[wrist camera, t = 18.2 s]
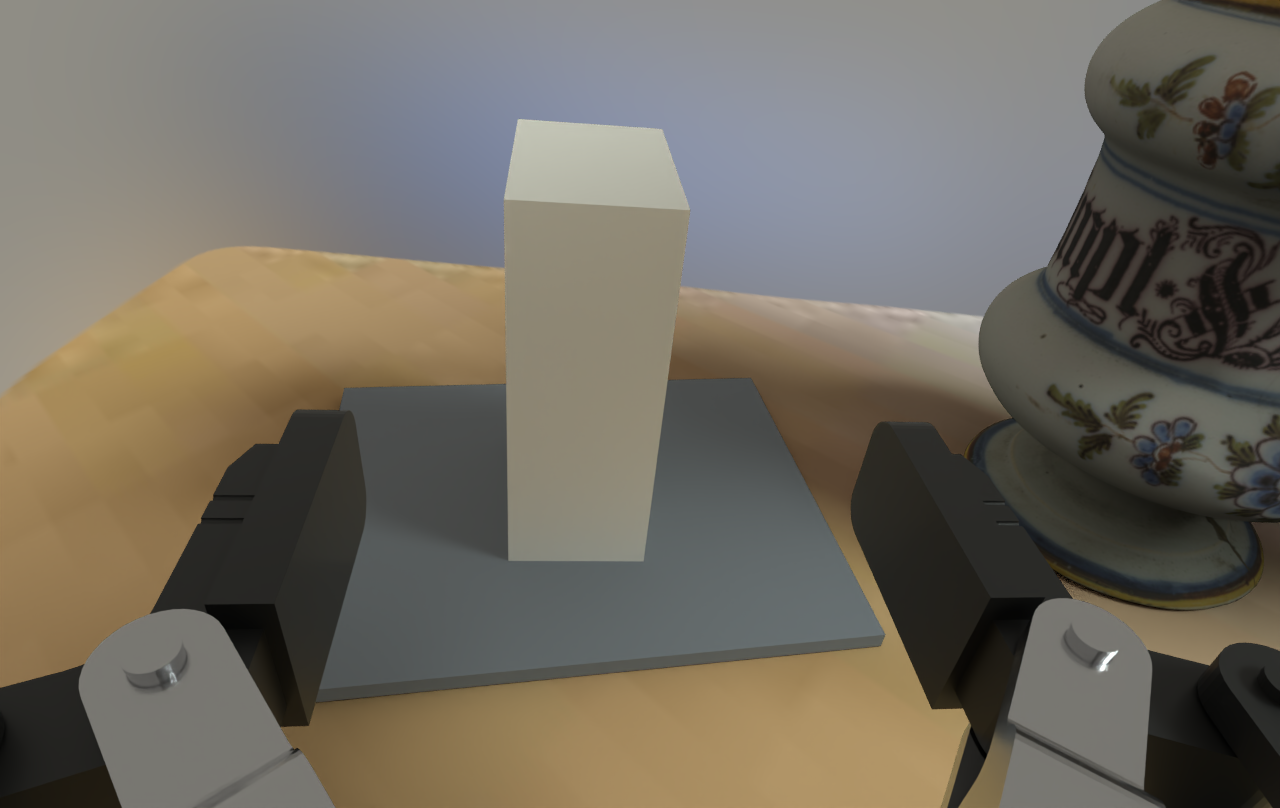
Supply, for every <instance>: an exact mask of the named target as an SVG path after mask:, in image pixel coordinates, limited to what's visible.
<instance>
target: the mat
mask: <svg viewBox="0 0 1280 808" xmlns="http://www.w3.org/2000/svg"><path fill="white" fill-rule="evenodd" d="M340 410H350V411H351V412H352V413H353V415H354V418H355V423H356V429H357V435H358V442H359V448H360V455H361V461H362V467H363V474H364V480H365V487H366V518H365V525H364V530H363V534H362V538H361V541H360V545H359V548H358V552H357V555H356V559H355V563H354V566H353V570H352V573H351V577H350V580H349V584H348V587H347V591H346V595H345V598H344V602H343V605H342V609H341V612H340V616H339V620H338V623H337V627H336V630H335V634H334V637H333V641H332V645H331V648H330V652H329V655H328V659H327V662H326V666H325V670H324V673H323V677H322V680H321V684H320V687H319V691H318V695H317V698H316V702H324V701H334V700H344V699H354V698H364V697H374V696H384V695H394V694H404V693H414V692H424V691H434V690H444V689H454V688H464V687H474V686H484V685H494V684H504V683H514V682H524V681H534V680H544V679H554V678H565V677H575V676H585V675H595V674H605V673H615V672H625V671H635V670H645V669H655V668H665V667H675V666H685V665H695V664H705V663H715V662H725V661H735V660H745V659H755V658H765V657H775V656H785V655H795V654H805V653H815V652H825V651H835V650H845V649H855V648H865V647H875V646H881V644H882V641H883V639H884V637H885V633H884V631H883V629H882V627H881V626H880V624H879V622H878V620H877V618H876V616H875V614H874V612H873V610H872V608H871V606H870V605H869V603H868V601H867V599H866V597H865V595H864V593H863V591H862V589H861V587H860V585H859V583H858V582H857V580H856V578H855V576H854V574H853V572H852V570H851V568H850V566H849V564H848V562H847V561H846V559H845V557H844V555H843V553H842V551H841V549H840V547H839V545H838V543H837V541H836V540H835V538H834V536H833V534H832V532H831V530H830V528H829V526H828V524H827V522H826V520H825V519H824V517H823V515H822V513H821V511H820V509H819V507H818V505H817V503H816V501H815V499H814V497H813V496H812V494H811V492H810V490H809V488H808V486H807V484H806V482H805V480H804V478H803V476H802V475H801V473H800V471H799V469H798V467H797V465H796V463H795V461H794V459H793V457H792V455H791V454H790V452H789V450H788V448H787V446H786V444H785V442H784V440H783V438H782V436H781V434H780V433H779V431H778V429H777V427H776V425H775V423H774V421H773V419H772V417H771V415H770V413H769V412H768V410H767V408H766V406H765V404H764V402H763V400H762V398H761V396H760V394H759V392H758V390H757V389H756V387H755V385H754V383H753V381H752V379H751V378H730V379H689V380H668V381H667V389H666V396H665V404H664V411H663V419H662V426H661V434H660V441H659V449H658V456H657V464H656V471H655V479H654V486H653V494H652V501H651V509H650V516H649V524H648V531H647V539H646V546H645V554H644V561H508V488H507V407H506V384H487V385H447V386H406V387H366V388H344V392H343V396H342V401H341V405H340Z"/></svg>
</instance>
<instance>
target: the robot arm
mask: <svg viewBox="0 0 1280 808" xmlns="http://www.w3.org/2000/svg"><path fill="white" fill-rule="evenodd" d="M365 518H366V487H365V480H364V474H363V467H362V461H361V455H360V448H359V442H358V435H357V429H356V423H355V418H354V415H353V413H352V412H351V411H350V410H296V411H295V412H294V413H293V414H292V416H291V418H290V420H289V422H288V425H287V427H286V429H285V431H284V433H283V435H282V438H281V440H280V442H279V444H255V445H254V446H253V447H251V448H250V449H249V450H248V451H247V452H246V453H244V454H243V455H242V456H241V457H240V458H238V459H237V460H236V461H235V462H234V463H232V464H231V465H230V466H229V467H228V468H227V470H226V472H225V474H224V476H223V477H222V479H221V481H220V483H219V485H218V487H217V489H216V491H215V493H214V494H213V501H210V502H209V504H208V506H207V508H206V510H205V512H204V513H203V515H202V517H201V524H198V525H197V527H196V529H195V530H194V532H193V534H192V536H191V538H190V540H189V542H188V544H187V546H186V548H185V549H184V551H183V553H182V555H181V557H180V559H179V561H178V563H177V565H176V567H175V568H174V570H173V572H172V574H171V576H170V578H169V580H168V582H167V584H166V585H165V587H164V589H163V591H162V593H161V595H160V597H159V599H158V601H157V603H156V604H155V606H154V608H153V610H152V612H151V613H150V614H149V615H146V616H144V617H141V618H139V619H136V620H134V621H132V622H130V623H128V624H126V625H124V626H123V627H121V628H120V629H118V630H117V631H115V632H113V633H112V634H111V635H110V636H108V637H107V638H106V639H105V640H103V641H102V642H101V643H100V645H99V646H98V647H97V648H96V649H95V650H94V651H93V652H92V654H91V655H90V656H89V658H88V659H87V661H86V663H85V664H83V665H81V666H78V667H75V668H72V669H69V670H66V671H63V672H59V673H55V674H51V675H47V676H44V677H40V678H36V679H32V680H29V681H25V682H21V683H17V684H14V685H10V686H6V687H2V688H0V808H335V806H334V804H333V803H332V801H331V799H330V798H329V796H328V794H327V792H326V791H325V789H324V787H323V785H322V784H321V782H320V780H319V778H318V777H317V775H316V773H315V772H314V770H313V768H312V766H311V765H310V763H309V762H308V760H307V759H306V757H305V756H304V754H303V753H302V752H301V751H300V750H299V749H298V748H296V749H295V750H294V749H293V748H292V746H291V745H290V743H289V742H288V740H287V738H286V737H285V735H284V733H283V731H282V730H281V728H280V727H287V726H309V723H310V720H311V716H312V712H313V709H314V705H315V702H316V698H317V695H318V691H319V687H320V684H321V680H322V677H323V673H324V670H325V666H326V662H327V659H328V655H329V652H330V648H331V645H332V641H333V637H334V634H335V630H336V627H337V623H338V620H339V616H340V612H341V609H342V605H343V602H344V598H345V595H346V591H347V587H348V584H349V580H350V577H351V573H352V570H353V566H354V563H355V559H356V555H357V552H358V548H359V545H360V541H361V538H362V534H363V530H364V525H365ZM851 520H852V525H853V529H854V532H855V535H856V537H857V539H858V541H859V544H860V546H861V548H862V551H863V553H864V555H865V557H866V560H867V562H868V564H869V567H870V569H871V571H872V573H873V576H874V578H875V580H876V583H877V585H878V587H879V589H880V592H881V594H882V596H883V599H884V601H885V603H886V605H887V608H888V610H889V612H890V615H891V617H892V619H893V621H894V624H895V626H896V628H897V631H898V633H899V635H900V637H901V640H902V642H903V644H904V647H905V649H906V651H907V653H908V656H909V658H910V660H911V663H912V665H913V667H914V669H915V672H916V674H917V676H918V679H919V681H920V683H921V685H922V688H923V690H924V692H925V695H926V697H927V699H928V701H929V704H930V706H931V708H932V709H957V708H963V709H964V711H965V713H966V716H967V718H968V720H969V724H968V726H967V728H966V729H965V731H964V733H963V736H962V738H961V742H960V745H959V748H958V752H957V755H956V758H955V762H954V765H953V768H952V772H951V775H950V778H949V782H948V785H947V788H946V792H945V795H944V798H943V802H942V805H941V808H1280V651H1278V650H1276V649H1273V648H1270V647H1267V646H1263V645H1258V644H1253V643H1236V644H1232V645H1229V646H1227V647H1226V648H1224V649H1223V651H1222V652H1221V653H1220V654H1219V655H1218V657H1217V658H1216V659H1215V660H1214V661H1213V662H1212V664H1211V665H1210V666H1209V665H1205V664H1201V663H1197V662H1193V661H1189V660H1185V659H1181V658H1177V657H1173V656H1169V655H1165V654H1161V653H1157V652H1153V651H1150V650H1147V649H1146V647H1145V645H1144V644H1143V642H1142V641H1141V639H1140V638H1139V637H1138V636H1137V635H1136V634H1135V632H1134V631H1133V630H1132V629H1130V628H1129V627H1128V626H1127V625H1126V624H1125V623H1124V622H1122V621H1121V620H1120V619H1118V618H1117V617H1115V616H1114V615H1112V614H1111V613H1109V612H1107V611H1105V610H1103V609H1101V608H1099V607H1097V606H1095V605H1092V604H1090V603H1087V602H1084V601H1080V600H1075V599H1073V598H1072V597H1071V596H1070V594H1069V593H1068V591H1067V590H1066V588H1065V587H1064V585H1063V584H1062V582H1061V581H1060V580H1059V578H1058V577H1057V575H1056V574H1055V572H1054V571H1053V569H1052V568H1051V567H1050V565H1049V564H1048V562H1047V561H1046V559H1045V558H1044V556H1043V555H1042V553H1041V552H1040V551H1039V549H1038V548H1037V546H1036V545H1035V543H1034V542H1033V540H1032V539H1031V538H1030V536H1029V535H1028V533H1027V532H1026V530H1025V529H1024V527H1023V526H1019V520H1018V519H1017V517H1016V516H1015V514H1014V513H1013V511H1012V510H1011V509H1010V507H1009V506H1005V500H1004V498H1003V497H1002V495H1001V494H1000V493H999V491H998V490H997V488H996V487H995V485H994V484H993V482H992V481H991V480H990V478H989V477H988V476H987V475H986V474H985V473H984V472H982V471H981V470H980V469H979V468H977V467H976V466H975V465H974V464H972V463H971V462H970V461H969V460H967V459H966V458H965V457H964V456H962V455H961V454H952V453H951V452H950V450H949V449H948V447H947V446H946V444H945V443H944V441H943V440H942V438H941V437H940V435H939V434H938V432H937V431H936V429H935V428H934V426H933V425H931V424H930V423H927V422H880V423H879V424H878V425H877V426H876V427H875V429H874V431H873V434H872V437H871V440H870V443H869V446H868V449H867V452H866V455H865V458H864V461H863V464H862V467H861V470H860V473H859V476H858V479H857V482H856V485H855V488H854V491H853V494H852V499H851Z"/></svg>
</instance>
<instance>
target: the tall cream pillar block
mask: <svg viewBox="0 0 1280 808" xmlns="http://www.w3.org/2000/svg"><path fill="white" fill-rule="evenodd" d="M689 216H690V208H689V205H688V202H687V199H686V197H685V193H684V191H683V188H682V185H681V182H680V179H679V176H678V173H677V170H676V168H675V165H674V162H673V159H672V156H671V153H670V150H669V147H668V145H667V142H666V139H665V136H664V133H663V130H662V129H652V128H638V127H637V128H636V127H623V126H609V125H595V124H580V123H566V122H551V121H536V120H523V119H518V122H517V129H516V134H515V140H514V145H513V151H512V157H511V163H510V168H509V174H508V179H507V185H506V191H505V196H504V244H505V245H504V246H505V327H506V407H507V488H508V561H644V554H645V546H646V539H647V531H648V524H649V516H650V509H651V501H652V494H653V486H654V479H655V471H656V464H657V456H658V449H659V441H660V434H661V426H662V419H663V411H664V404H665V396H666V389H667V381H668V374H669V366H670V359H671V351H672V344H673V336H674V329H675V321H676V314H677V306H678V299H679V291H680V284H681V276H682V269H683V261H684V254H685V246H686V239H687V231H688V224H689Z"/></svg>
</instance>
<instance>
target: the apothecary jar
mask: <svg viewBox="0 0 1280 808" xmlns="http://www.w3.org/2000/svg"><path fill="white" fill-rule="evenodd" d="M1085 99H1086V103H1087V106H1088V109H1089V112H1090V114H1091V116H1092V118H1093V119H1094V121H1095V122H1096V124H1097V125H1098V127H1099V128H1100V129H1101V131H1103V133H1104V134H1105V138H1104V142H1103V145H1102V148H1101V151H1100V154H1099V157H1098V159H1097V161H1096V163H1095V166H1094V168H1093V170H1092V172H1091V175H1090V177H1089V179H1088V182H1087V185H1086V187H1085V190H1084V192H1083V194H1082V196H1081V198H1080V200H1079V203H1078V205H1077V207H1076V209H1075V211H1074V213H1073V215H1072V217H1071V220H1070V222H1069V224H1068V227H1067V228H1066V231H1065V233H1064V235H1063V236H1062V239H1061V240H1060V242H1059V244H1058V247H1057V248H1056V251H1055V252H1054V254H1053V256H1052V258H1051V260H1050V262H1049V264H1048V266H1047V267H1044V268H1041V269H1038V270H1036V271H1033V272H1031V273H1028V274H1026V275H1024V276H1022V277H1020V278H1019V279H1017V280H1015V281H1014V282H1012V283H1011V284H1010V285H1008V286H1007V287H1006V288H1005V289H1004V290H1003V291H1002V292H1001V293H999V294H998V296H997V297H996V298H995V299H994V300H993V302H992V303H991V305H990V306H989V308H988V310H987V312H986V313H985V316H984V318H983V320H982V324H981V327H980V333H979V355H980V360H981V364H982V367H983V370H984V373H985V375H986V377H987V379H988V382H989V384H990V386H991V388H992V389H993V391H994V393H995V395H996V396H997V398H998V400H999V401H1000V402H1001V404H1002V405H1003V407H1004V408H1005V409H1006V410H1007V412H1008V413H1009V414H1010V415H1011V416H1012V417H1013V418H1011V419H1007V420H1004V421H1000V422H998V423H995V424H993V425H991V426H989V427H987V428H986V429H984V430H983V431H981V432H980V433H979V434H978V435H977V436H976V437H975V438H974V439H973V440H972V441H971V442H970V444H969V445H968V447H967V449H966V451H965V453H964V457H965V458H966V459H967V460H969V461H970V462H971V463H972V464H974V465H975V466H976V467H977V468H979V469H980V470H981V471H982V472H984V473H985V474H986V475H987V476H988V477H989V478H990V480H991V481H992V482H993V484H994V485H995V487H996V488H997V490H998V491H999V493H1000V494H1001V495H1002V497H1003V498H1004V500H1005V506H1009V507H1010V509H1011V510H1012V511H1013V513H1014V514H1015V516H1016V517H1017V519H1018V520H1019V526H1023V527H1024V529H1025V530H1026V532H1027V533H1028V535H1029V536H1030V538H1031V539H1032V540H1033V542H1034V543H1035V545H1036V546H1037V548H1038V549H1039V551H1040V552H1041V553H1042V555H1043V556H1044V558H1045V559H1046V561H1047V562H1048V564H1049V565H1050V567H1051V568H1052V569H1053V570H1054V571H1056V572H1058V573H1059V574H1061V575H1063V576H1065V577H1066V578H1068V579H1071V580H1073V581H1074V582H1076V583H1079V584H1081V585H1083V586H1085V587H1088V588H1090V589H1093V590H1095V591H1098V592H1101V593H1103V594H1106V595H1109V596H1112V597H1115V598H1118V599H1122V600H1125V601H1129V602H1133V603H1138V604H1142V605H1146V606H1152V607H1158V608H1164V609H1175V610H1198V609H1208V608H1213V607H1217V606H1221V605H1225V604H1229V603H1232V602H1234V601H1237V600H1239V599H1240V598H1242V597H1243V596H1245V595H1246V594H1248V593H1249V592H1250V591H1251V590H1252V589H1253V588H1254V587H1255V586H1256V585H1257V583H1258V582H1259V580H1260V578H1261V575H1262V572H1263V566H1264V557H1263V550H1262V546H1261V542H1260V540H1259V537H1258V535H1257V533H1256V531H1255V529H1254V527H1253V526H1252V524H1251V522H1280V0H1161V1H1159V2H1157V3H1155V4H1152V5H1150V6H1148V7H1146V8H1144V9H1142V10H1141V11H1139V12H1137V13H1136V14H1134V15H1132V16H1130V17H1129V18H1128V19H1126V20H1125V21H1124V22H1122V23H1121V24H1120V25H1118V26H1117V27H1116V28H1115V29H1114V30H1113V31H1111V32H1110V33H1109V34H1108V36H1107V37H1106V38H1105V39H1104V40H1103V41H1102V42H1101V44H1100V45H1099V47H1098V48H1097V50H1096V51H1095V53H1094V55H1093V57H1092V59H1091V61H1090V63H1089V67H1088V70H1087V74H1086V79H1085Z"/></svg>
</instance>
